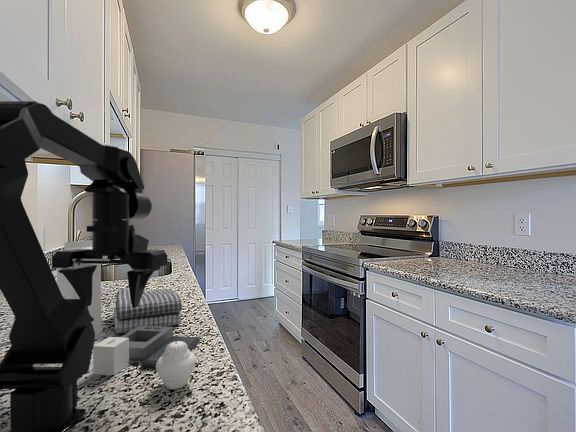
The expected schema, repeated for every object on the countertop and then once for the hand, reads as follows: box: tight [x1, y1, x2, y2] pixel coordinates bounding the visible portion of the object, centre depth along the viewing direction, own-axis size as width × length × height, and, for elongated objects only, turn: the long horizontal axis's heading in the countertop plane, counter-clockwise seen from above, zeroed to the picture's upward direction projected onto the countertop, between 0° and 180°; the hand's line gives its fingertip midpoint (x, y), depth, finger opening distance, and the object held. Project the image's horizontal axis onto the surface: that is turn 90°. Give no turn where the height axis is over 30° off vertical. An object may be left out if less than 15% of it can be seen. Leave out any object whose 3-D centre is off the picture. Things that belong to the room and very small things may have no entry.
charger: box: [92, 336, 130, 377], centre depth 55 cm, size 4×4×5 cm
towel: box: [113, 288, 183, 334], centre depth 80 cm, size 15×18×8 cm
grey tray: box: [121, 326, 174, 362], centre depth 63 cm, size 11×8×2 cm
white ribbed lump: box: [155, 341, 197, 390], centre depth 50 cm, size 6×6×7 cm
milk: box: [56, 239, 102, 340], centre depth 67 cm, size 6×6×22 cm
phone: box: [140, 335, 201, 370], centre depth 61 cm, size 12×6×1 cm, turn 173°
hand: (111, 306), depth 54 cm, fingers open, 9 cm apart
